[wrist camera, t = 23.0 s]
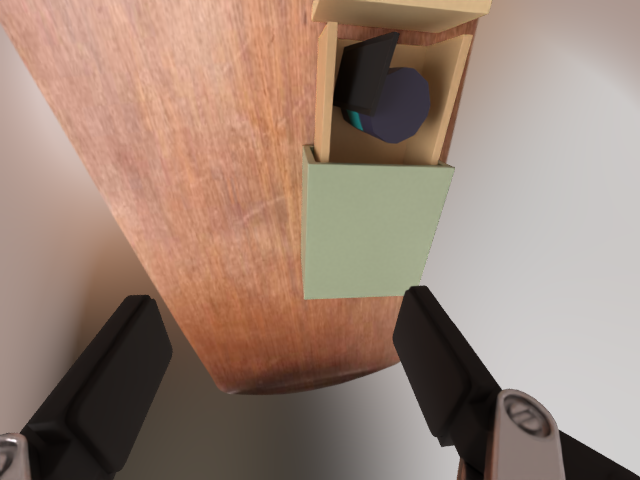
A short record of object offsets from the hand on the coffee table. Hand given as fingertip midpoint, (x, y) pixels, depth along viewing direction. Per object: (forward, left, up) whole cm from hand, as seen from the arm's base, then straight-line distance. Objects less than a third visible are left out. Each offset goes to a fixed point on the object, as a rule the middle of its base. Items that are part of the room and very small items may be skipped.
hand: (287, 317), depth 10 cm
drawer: (-1, +14, -25) cm, 29 cm away
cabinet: (+11, +2, -26) cm, 29 cm away
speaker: (0, +12, -24) cm, 27 cm away
